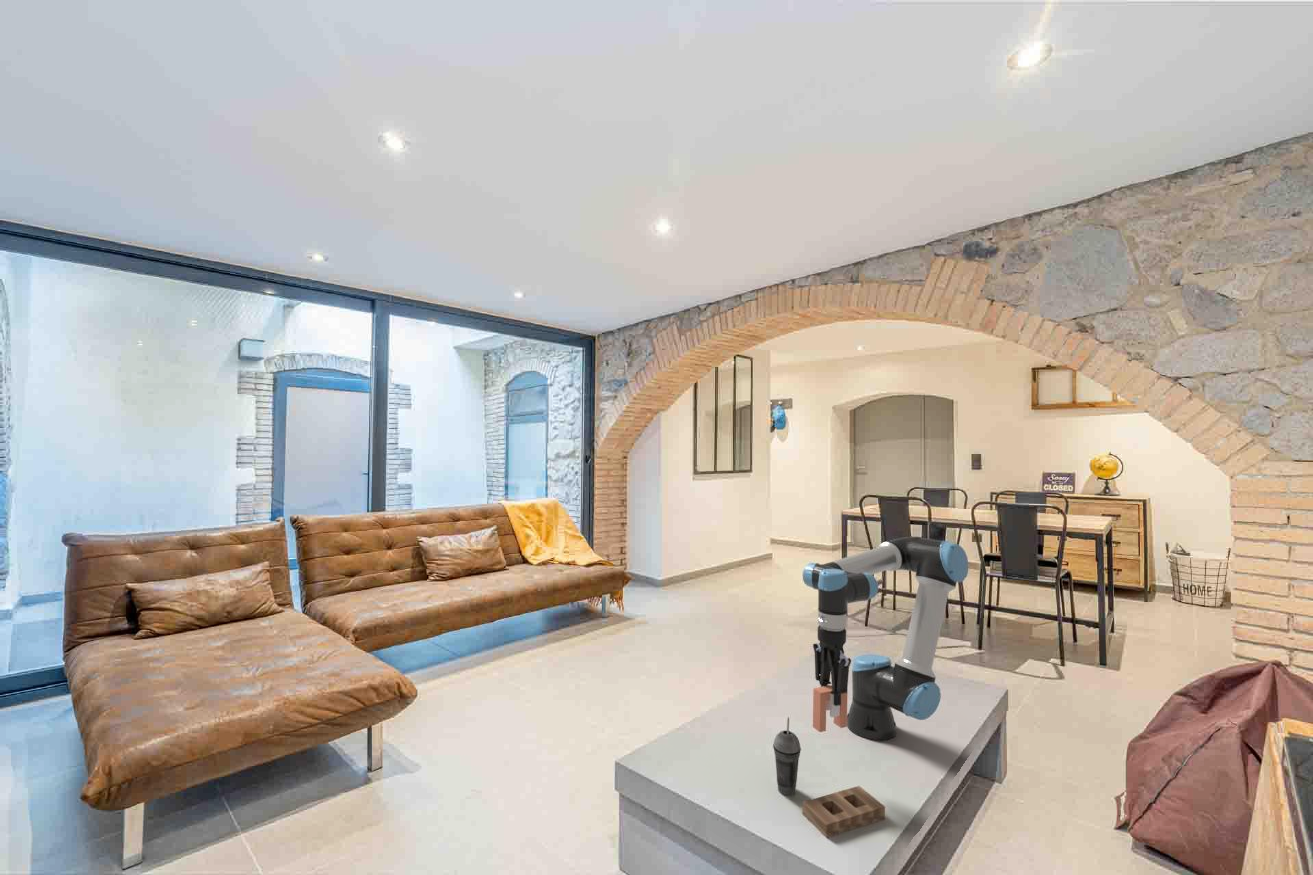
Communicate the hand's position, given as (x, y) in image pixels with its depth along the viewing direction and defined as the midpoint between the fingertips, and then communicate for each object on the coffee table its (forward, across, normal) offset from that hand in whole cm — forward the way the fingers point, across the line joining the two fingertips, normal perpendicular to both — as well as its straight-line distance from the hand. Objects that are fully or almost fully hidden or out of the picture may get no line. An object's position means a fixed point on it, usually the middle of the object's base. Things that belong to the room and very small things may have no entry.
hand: (830, 712), depth 155 cm
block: (+4, 0, 0) cm, 4 cm away
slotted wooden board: (+19, +13, -6) cm, 24 cm away
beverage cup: (+19, -1, -13) cm, 23 cm away
